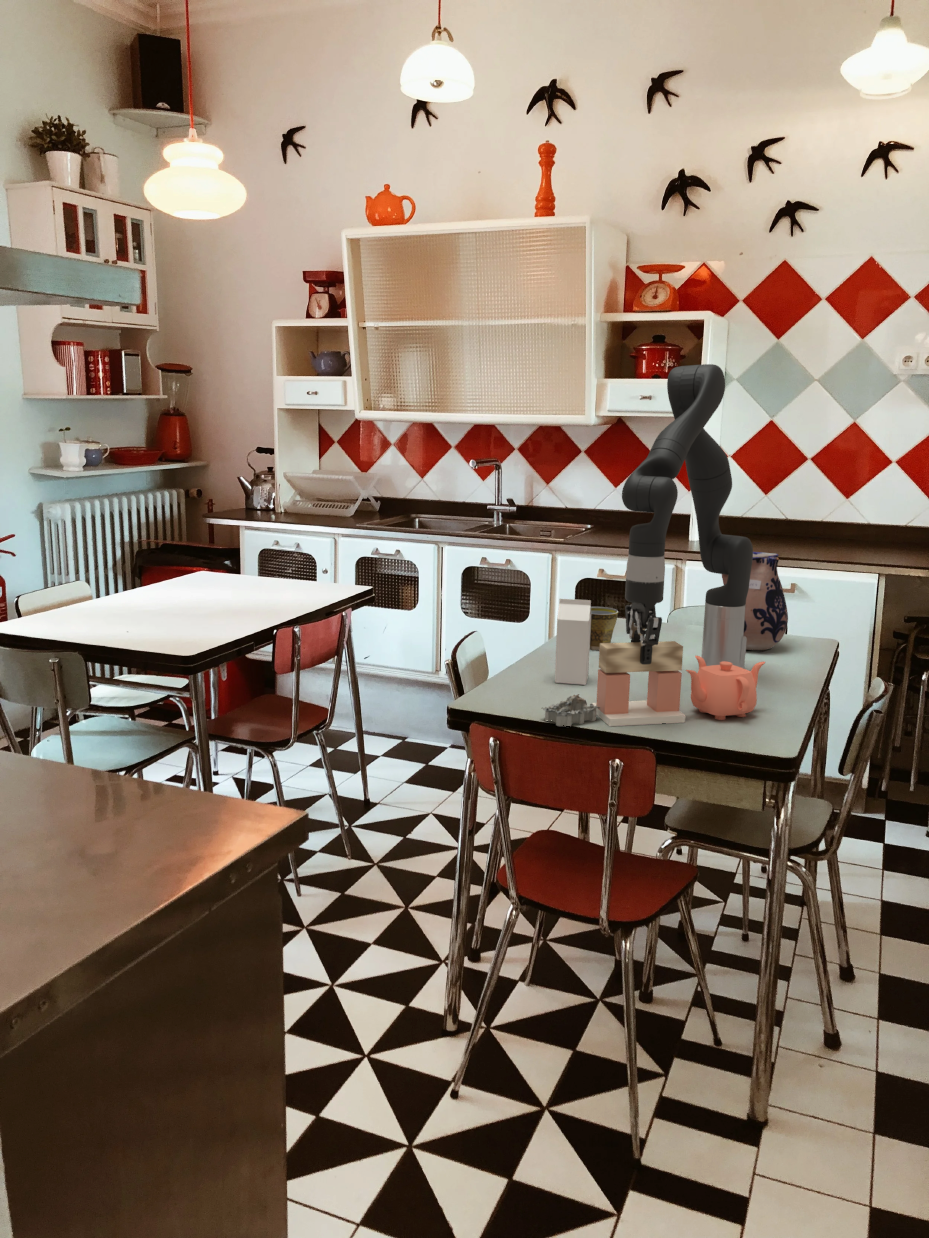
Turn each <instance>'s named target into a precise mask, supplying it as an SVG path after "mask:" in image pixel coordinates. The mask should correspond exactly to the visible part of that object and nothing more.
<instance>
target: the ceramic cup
mask: <svg viewBox="0 0 929 1238" xmlns="http://www.w3.org/2000/svg"><path fill="white" fill-rule="evenodd" d="M618 616H619V611H618V609H615V608H611V607H607V606H605V607H604V606H591V630H590V651H599V649H600V643H612V638H613V633H614V630H615V627H616V624H617V620H618Z"/></svg>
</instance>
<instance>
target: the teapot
mask: <svg viewBox="0 0 929 1238" xmlns="http://www.w3.org/2000/svg"><path fill="white" fill-rule="evenodd" d="M695 659H696V660H697V662H698V671H697V672H696V671H695V670H692V669H691V670H690V669H686V670H685V671H686V672H687V673H688V675H690V679H691V682H690V691H691V692H690V700H691V704H692V706H693V707H695V708H697V709H698V712H699V713H704V714H705V713H707V714H710V715H712V716H714V719H715V720H717V721H718V720H719V721H725V720H726V716H736V717H737V718H747V713H748V714H749V713H751V712H753V711H754V709H755V707H756V706H757V702H758V701H757V699H758V697H757V695H758V694H757V686H758V682H759V680H758V679H759V673H760V669H761V668H762V667H763V665H765V664H766V661H759V662H757V663H755V664H753V666H752V668H751V670H748V669H747V668H744V669H743V668H741V667H738V666H735V665H732V663H731V662H726V661H723V662H720V665H712V666H706V663H705V661H704V659H703V658H702V657H701V656H700V655H695Z"/></svg>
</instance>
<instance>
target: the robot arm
mask: <svg viewBox="0 0 929 1238" xmlns="http://www.w3.org/2000/svg"><path fill="white" fill-rule="evenodd" d="M666 383H667V384H666V385H667V387H666V388H667V396H668V401H669V405H670V408H671V411H672V415H673V418H674V420H673V421H672V422H670V423H669V424H668V425H667V426H666V427H665V428H664V429H663V430H661V431H660V432H659V434H658V435H657V437H656V439H655V440H654V442H653V443H652V446H651V449H650V450H649V453H648V455H647V456H646V458H645V459H644V460H643V461H642V462H641V463H640V464H639V465H638V466H637V467H636V468H635V470H633V471H632V472H631V473H630V475H629V476H628V477H627V479H626V480H625V482H624V484H623V488H622V490H621V500H622V503H623V505H624V507H625V508H626V509H627V510H629V511H630V512H631V511H632V512H638V513H639V512H640V513H651V514H652V513H653V517H652V519H651V520H650V522H647V523H638V524H635V525H632V526H631V527H630V530H629V536H628V537H629V538H628V539H629V541H628V557H627V562H626V572H625V586H624V587H625V591H624V599H625V600H626V601H627V602H629V603H631V604H626V605H625V607H624V608H625V610H624V611H625V633H626V635H628V637H629V640H630V642H641V650H640V663H641V664H651V662H652V646H654V645H658V642H660V641H659V640H660V634H661V630H662V629H661V628H662V624H663V617H661V616H657V613H656V612H657V611H656V604H661V602H663V601H664V593H665V592H664V589H665V575H666V574H665V573H666V563H665V553H666V552H665V551H666V549H665V548H666V536H667V531H668V529H669V528H668V527H669V524H670V520H671V517H672V515H673V512H674V509H675V506H676V504H677V500H678V493H679V491H678V490H679V489H678V486H677V484H676V482H675V481H674V479H676V477H677V476H679V473H680V471H681V469H682V466H683V464H684V463H685V467H686V473H687V480H688V484H689V488H690V494H691V496H692V503H693V505H694V506H693V507H694V511H695V518H696V525H697V534H698V544H699V554H700V558H701V563H702V565H703V566H702V567H703V568H704V569H705V570H706V572H710V573H714V574H719V575H722V574H725V575H728V580H727V583H726V584H725V585H724V584H723V585H720V586H717V587H713V588H710V589H708V590H707V591H706V592H705V598H704V599H705V601H704V613H703V615H704V616H703V627H702V628H703V630H702V631H703V632H702V645H701V646H702V647H701V656H700V657H702V658H703V659H704V661H705V663H706V666H712V665H720V662H723V661H726V662H731V663H732V665H735V666H738V667H741V668H743V669H745V666H746V665H745V662H746V651H747V650H746V640H747V638H746V637H745V636H743V632H744V620H745V607H746V598H747V594H748V590H749V582H750V574H751V567H752V559H753V552H754V548H753V547H754V546H753V543H752V542H751V539H750V538H748V537H746V536H742V535H741V536H740V535H732V534H724V533H723V534H722V531H721V529H720V524H719V523H720V522H719V521H720V520H719V519H720V514H721V512H722V510H723V508H724V506H725V504H726V503H727V501H728V499H729V496H730V494H731V492H732V488H733V478H732V472H731V466H730V461H729V459H728V456H727V454H726V452H725V451H724V449H723V448H722V447H721V445H720V444H719V443H718V442H717V441H716V440H715V439H714V437H712V436H711V435H710V434H709V433H708V432H707V430H706V429H705V427H706V425H707V423H708V422H709V421H710V420H711V418H712V416H713V415H714V413H715V412H716V411H717V409H718V408H719V406H720V405H721V403H722V400H723V399H724V396H725V391H726V379H725V375H724V371H723V370H722V368H721V367H720V366H719V365H717V364H712V363H711V364H710V363H708V364H707V363H705V364H692V365H681V366H676V367H674V368H672V369H671V370H670V371H669V373H668V376H667V382H666Z"/></svg>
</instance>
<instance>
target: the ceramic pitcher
mask: <svg viewBox="0 0 929 1238" xmlns="http://www.w3.org/2000/svg"><path fill="white" fill-rule="evenodd" d="M779 560H780V559H779V554H778V553H775V552H773V553H769V552H765V551H764V552H763V551H760V552H759V551H753V559H752V567H751V574H750V582H749V590H748V594H747V598H746V607H745V620H744V632H743V636H745V637H746V638H747V640H746V651H765V650H770V649H771V648H773V647H774V646H776V645H777V644H778V643H779V642H781V640H782V638H783V637H784V635H785V633H786V631H787V627H788V624H789V622H788V621H789V613H788V606H787V602H786V597H785V593H784V591H783V590H784V589H783V584H782V583H781V580H780V576H779V574H778V573H779V572H778V563H779ZM721 578H722V584H723V585H725V584H726V583H727V580H728V575H725V574H721Z"/></svg>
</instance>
